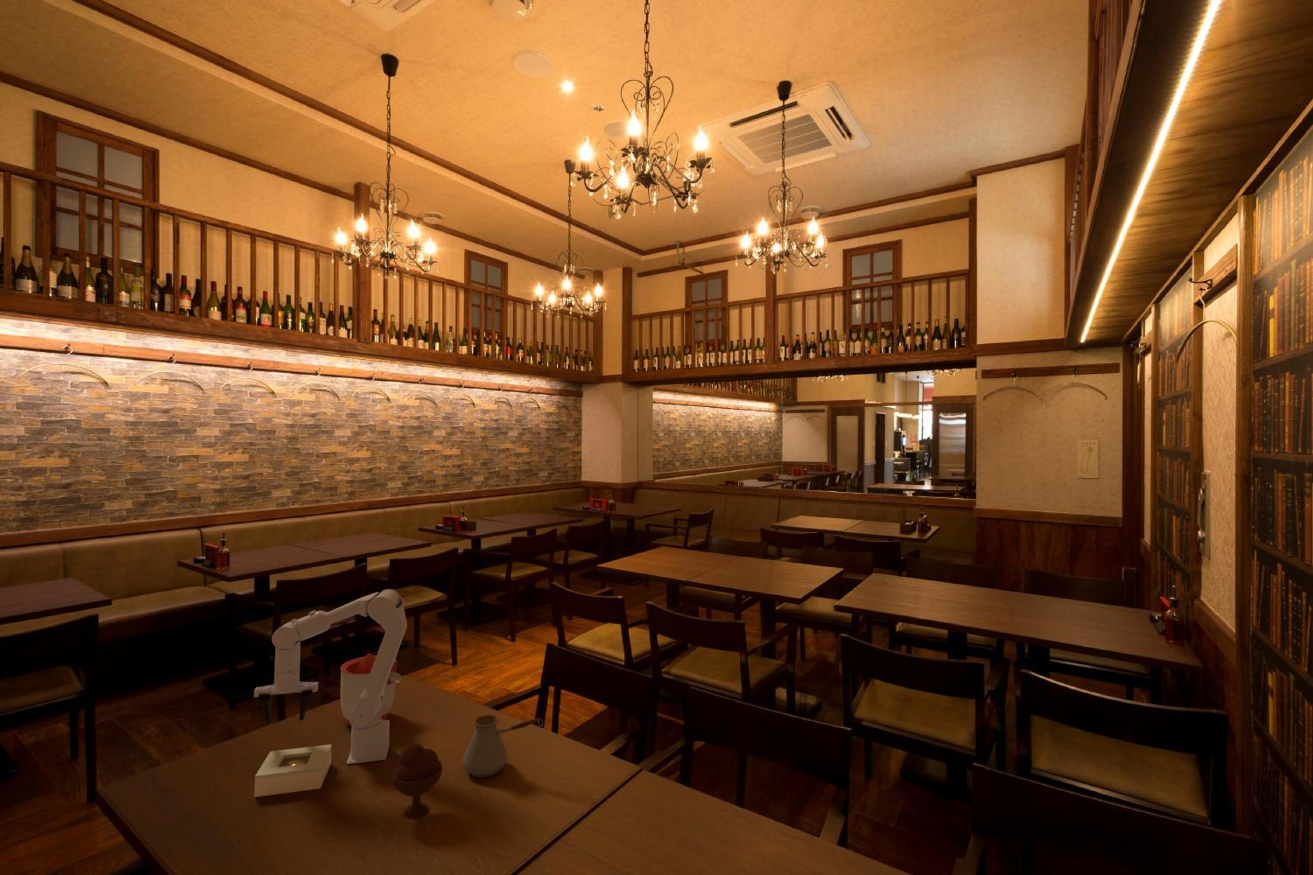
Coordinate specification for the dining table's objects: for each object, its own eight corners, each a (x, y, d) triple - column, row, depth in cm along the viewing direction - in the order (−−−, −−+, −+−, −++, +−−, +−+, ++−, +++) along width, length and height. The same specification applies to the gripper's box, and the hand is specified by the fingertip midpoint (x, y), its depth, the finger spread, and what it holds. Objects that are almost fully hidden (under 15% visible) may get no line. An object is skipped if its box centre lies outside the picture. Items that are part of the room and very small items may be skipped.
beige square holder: (330, 763, 159) (331, 744, 159) (320, 788, 147) (321, 767, 147) (270, 770, 155) (270, 751, 155) (254, 796, 143) (255, 775, 143)
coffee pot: (453, 777, 153) (454, 718, 153) (476, 755, 164) (477, 700, 165) (531, 789, 149) (533, 728, 149) (549, 766, 160) (550, 709, 160)
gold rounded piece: (309, 772, 153) (309, 760, 153) (294, 781, 148) (294, 769, 148) (295, 770, 154) (295, 758, 154) (279, 779, 149) (280, 766, 150)
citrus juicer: (387, 731, 177) (389, 663, 177) (328, 731, 176) (330, 662, 177) (408, 708, 192) (410, 645, 193) (353, 707, 192) (355, 644, 192)
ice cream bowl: (393, 831, 132) (395, 762, 132) (389, 803, 142) (391, 739, 142) (444, 818, 137) (445, 751, 137) (437, 792, 146) (438, 730, 147)
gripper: (321, 661, 166) (319, 711, 166) (260, 666, 162) (259, 717, 162) (315, 670, 160) (313, 722, 159) (252, 675, 155) (250, 729, 155)
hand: (285, 720), depth 160 cm, fingers open, 7 cm apart
